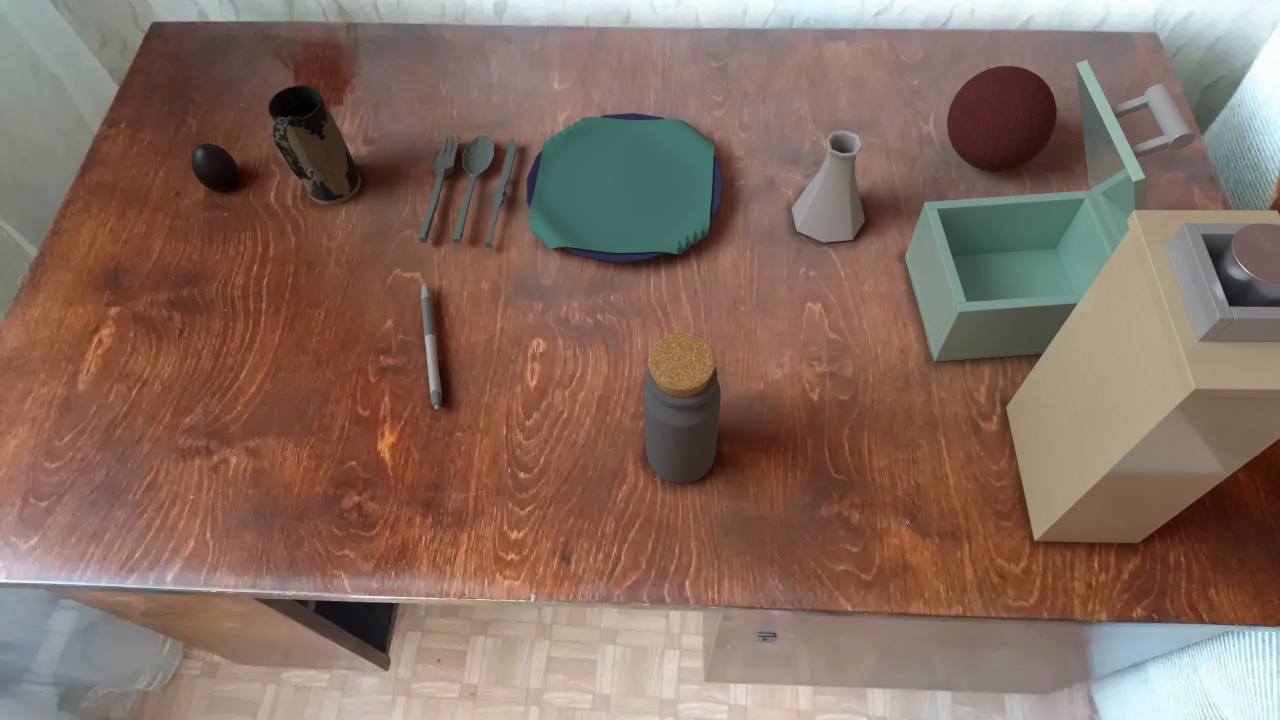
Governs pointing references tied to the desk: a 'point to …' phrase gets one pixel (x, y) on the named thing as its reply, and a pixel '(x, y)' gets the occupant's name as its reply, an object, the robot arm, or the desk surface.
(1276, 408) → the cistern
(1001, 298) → the bowl box
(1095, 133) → the pale green box lid
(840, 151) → the flask
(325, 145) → the mug
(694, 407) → the bottle
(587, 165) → the cutlery set
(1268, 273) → the flush button
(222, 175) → the egg
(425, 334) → the pen
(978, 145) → the decorative ball
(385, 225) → the desk surface
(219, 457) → the desk surface
